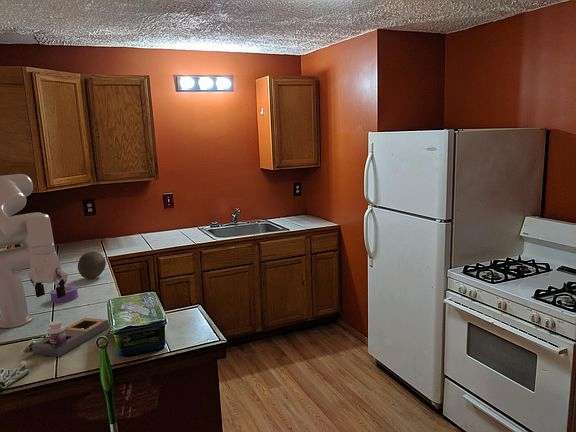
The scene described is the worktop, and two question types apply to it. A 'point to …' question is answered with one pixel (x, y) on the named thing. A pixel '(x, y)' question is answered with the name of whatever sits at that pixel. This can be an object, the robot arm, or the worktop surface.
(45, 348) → the hole rail
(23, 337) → the worktop surface
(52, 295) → the tape roll
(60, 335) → the pill bottle
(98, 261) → the cantaloupe
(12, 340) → the worktop surface
